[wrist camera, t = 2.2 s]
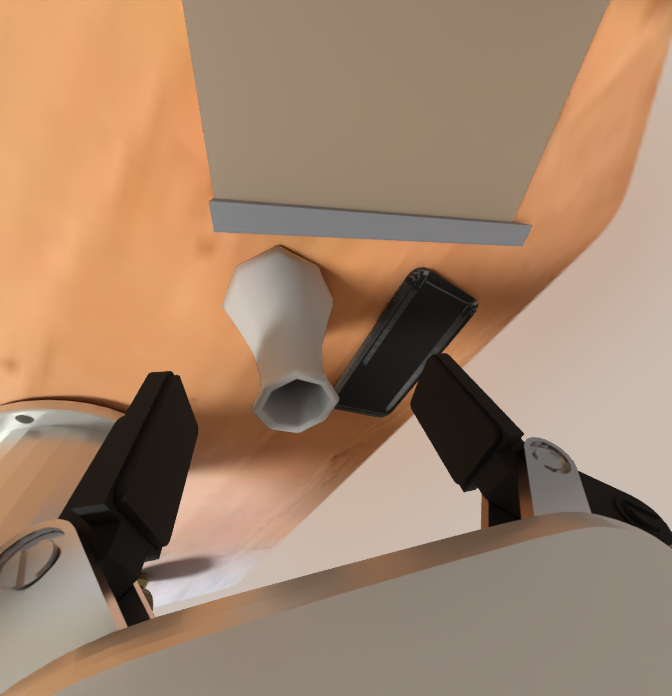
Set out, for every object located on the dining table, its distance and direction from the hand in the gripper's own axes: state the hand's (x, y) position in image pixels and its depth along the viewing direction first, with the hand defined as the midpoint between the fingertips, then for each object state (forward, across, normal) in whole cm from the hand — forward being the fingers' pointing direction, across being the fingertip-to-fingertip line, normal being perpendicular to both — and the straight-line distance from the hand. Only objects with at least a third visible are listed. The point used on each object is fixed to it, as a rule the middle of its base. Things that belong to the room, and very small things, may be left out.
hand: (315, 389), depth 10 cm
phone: (+10, -9, +6) cm, 15 cm away
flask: (+10, +1, +1) cm, 10 cm away
